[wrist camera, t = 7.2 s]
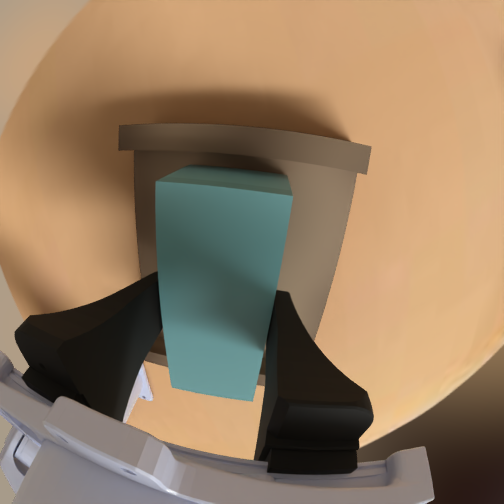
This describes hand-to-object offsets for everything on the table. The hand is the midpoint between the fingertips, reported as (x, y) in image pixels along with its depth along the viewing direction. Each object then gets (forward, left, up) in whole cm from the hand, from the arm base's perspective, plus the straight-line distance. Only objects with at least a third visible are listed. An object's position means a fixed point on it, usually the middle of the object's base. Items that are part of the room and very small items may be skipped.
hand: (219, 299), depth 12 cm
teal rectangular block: (0, 0, -2) cm, 2 cm away
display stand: (0, 0, -5) cm, 5 cm away
